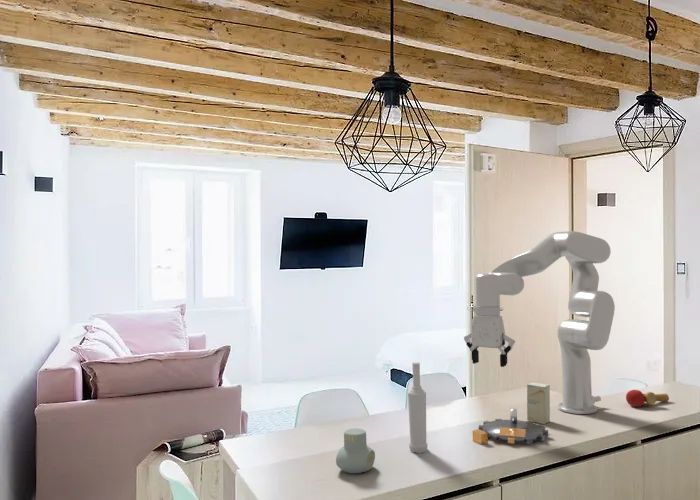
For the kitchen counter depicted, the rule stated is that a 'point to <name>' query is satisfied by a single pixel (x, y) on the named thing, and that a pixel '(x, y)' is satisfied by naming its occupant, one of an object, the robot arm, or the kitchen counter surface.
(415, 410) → the bottle
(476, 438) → the wooden block
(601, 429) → the kitchen counter surface
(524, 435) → the sprocket wheel
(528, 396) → the skincare box
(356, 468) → the air freshener
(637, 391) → the kendama
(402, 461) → the kitchen counter surface
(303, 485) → the kitchen counter surface
